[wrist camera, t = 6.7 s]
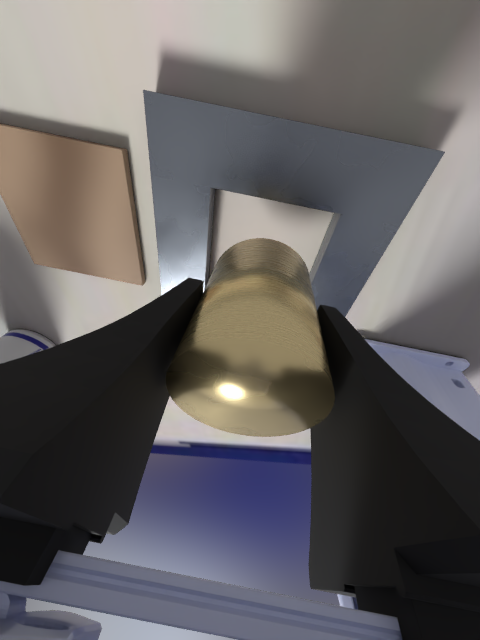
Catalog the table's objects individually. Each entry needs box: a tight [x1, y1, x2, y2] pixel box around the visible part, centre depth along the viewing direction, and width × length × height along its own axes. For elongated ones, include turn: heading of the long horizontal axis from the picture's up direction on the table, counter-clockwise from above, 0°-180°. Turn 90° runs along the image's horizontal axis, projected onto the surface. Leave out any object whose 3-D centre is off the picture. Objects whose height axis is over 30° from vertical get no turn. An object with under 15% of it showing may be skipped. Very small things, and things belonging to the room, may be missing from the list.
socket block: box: [143, 90, 445, 317], centre depth 14 cm, size 13×13×1 cm
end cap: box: [166, 238, 335, 437], centre depth 9 cm, size 5×5×6 cm
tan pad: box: [0, 123, 146, 286], centre depth 14 cm, size 8×8×1 cm
